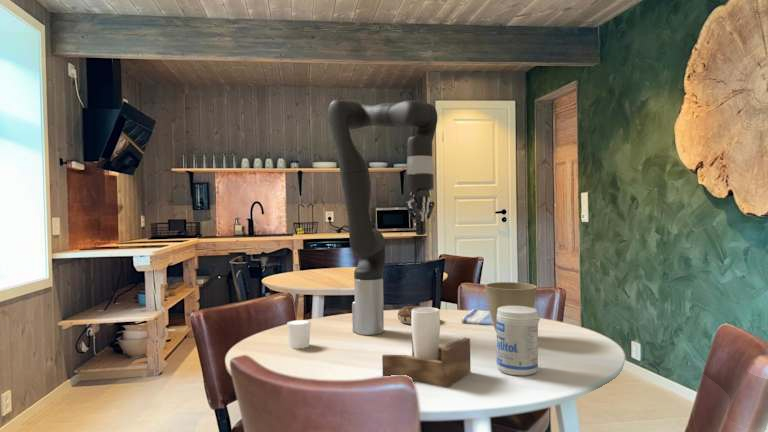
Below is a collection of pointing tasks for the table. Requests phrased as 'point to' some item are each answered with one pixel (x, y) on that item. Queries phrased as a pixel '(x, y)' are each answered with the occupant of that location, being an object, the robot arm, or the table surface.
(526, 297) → the plant pot
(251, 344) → the table surface
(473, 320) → the dish towel
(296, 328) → the white cup
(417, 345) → the drinking glass
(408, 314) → the donut
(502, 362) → the supplement tub
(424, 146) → the robot arm
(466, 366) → the holder
